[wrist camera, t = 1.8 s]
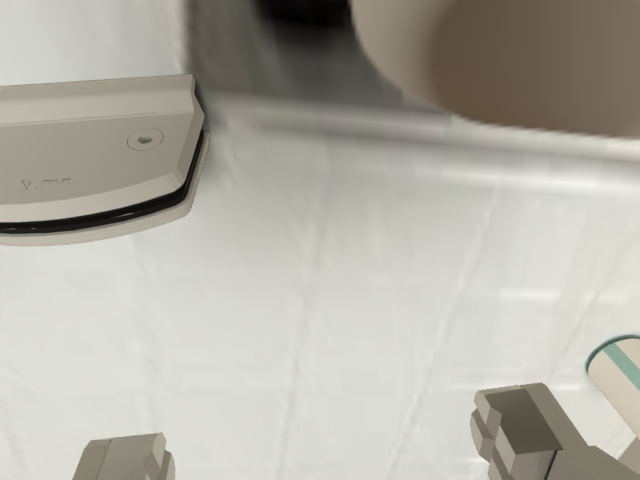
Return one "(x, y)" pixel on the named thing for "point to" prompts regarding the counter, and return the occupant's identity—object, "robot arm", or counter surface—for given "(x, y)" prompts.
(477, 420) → the robot arm
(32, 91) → the white curved block
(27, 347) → the counter surface
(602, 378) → the can
